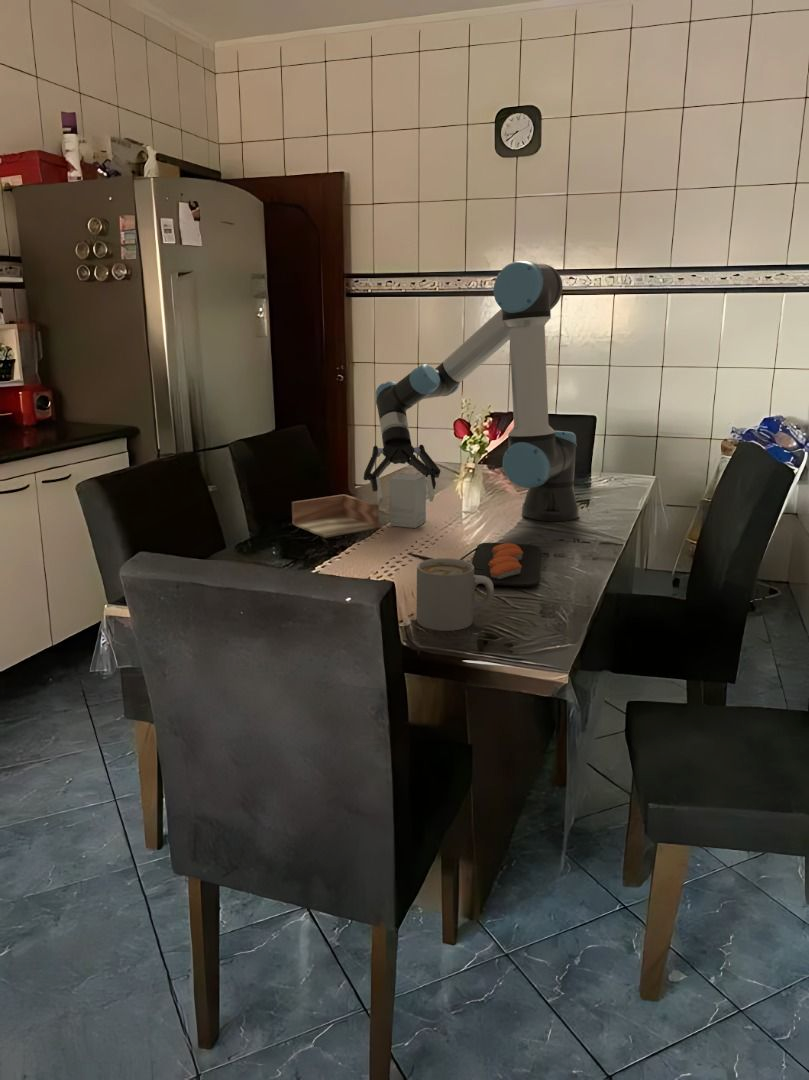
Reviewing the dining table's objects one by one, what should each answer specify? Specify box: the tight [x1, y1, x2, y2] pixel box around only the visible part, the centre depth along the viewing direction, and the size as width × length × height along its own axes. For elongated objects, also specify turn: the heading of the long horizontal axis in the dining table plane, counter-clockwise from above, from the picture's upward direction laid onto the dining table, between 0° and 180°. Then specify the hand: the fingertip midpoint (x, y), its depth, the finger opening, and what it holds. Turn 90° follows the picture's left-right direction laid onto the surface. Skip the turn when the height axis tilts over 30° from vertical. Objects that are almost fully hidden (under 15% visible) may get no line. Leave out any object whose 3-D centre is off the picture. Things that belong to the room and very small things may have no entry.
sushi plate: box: [406, 542, 542, 587], centre depth 173 cm, size 29×30×4 cm
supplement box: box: [388, 472, 427, 529], centre depth 206 cm, size 7×7×13 cm
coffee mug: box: [416, 557, 495, 632], centre depth 140 cm, size 13×10×10 cm
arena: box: [291, 493, 380, 539], centre depth 205 cm, size 16×16×6 cm
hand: (406, 500), depth 206 cm, fingers open, 13 cm apart
